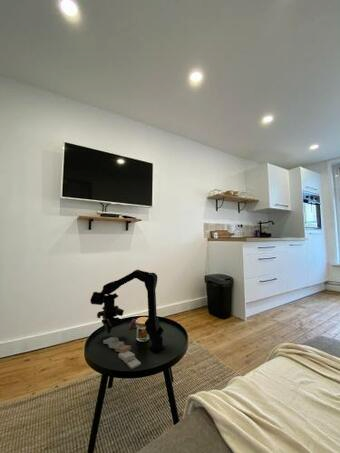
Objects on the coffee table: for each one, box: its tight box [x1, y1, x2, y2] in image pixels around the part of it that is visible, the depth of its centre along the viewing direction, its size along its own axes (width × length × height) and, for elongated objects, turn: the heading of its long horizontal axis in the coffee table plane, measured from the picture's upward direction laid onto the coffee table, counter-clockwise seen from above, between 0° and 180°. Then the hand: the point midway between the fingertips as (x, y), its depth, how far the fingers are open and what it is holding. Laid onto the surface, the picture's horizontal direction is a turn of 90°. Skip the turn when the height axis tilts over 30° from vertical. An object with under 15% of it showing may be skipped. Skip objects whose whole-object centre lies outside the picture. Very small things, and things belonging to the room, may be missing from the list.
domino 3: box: [114, 344, 132, 353], centre depth 106 cm, size 2×5×8 cm
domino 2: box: [107, 340, 125, 350], centre depth 109 cm, size 2×5×8 cm
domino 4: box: [118, 350, 136, 362], centre depth 100 cm, size 2×5×8 cm
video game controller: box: [128, 318, 138, 331], centre depth 132 cm, size 10×5×7 cm, turn 75°
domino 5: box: [122, 357, 142, 370], centre depth 97 cm, size 2×5×8 cm
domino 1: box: [102, 337, 120, 345], centre depth 113 cm, size 2×5×8 cm
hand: (108, 333), depth 115 cm, fingers closed
